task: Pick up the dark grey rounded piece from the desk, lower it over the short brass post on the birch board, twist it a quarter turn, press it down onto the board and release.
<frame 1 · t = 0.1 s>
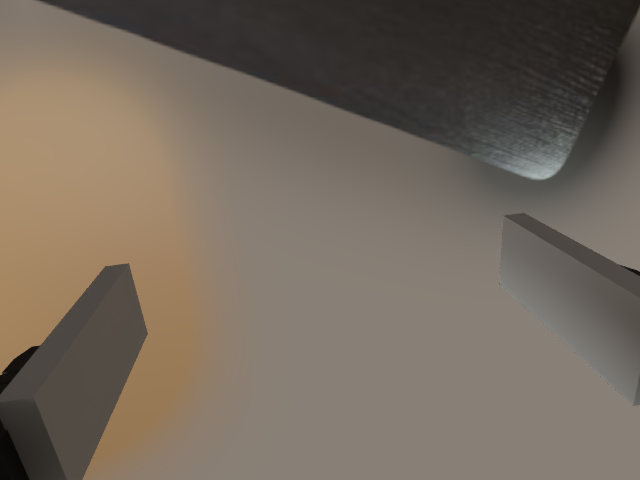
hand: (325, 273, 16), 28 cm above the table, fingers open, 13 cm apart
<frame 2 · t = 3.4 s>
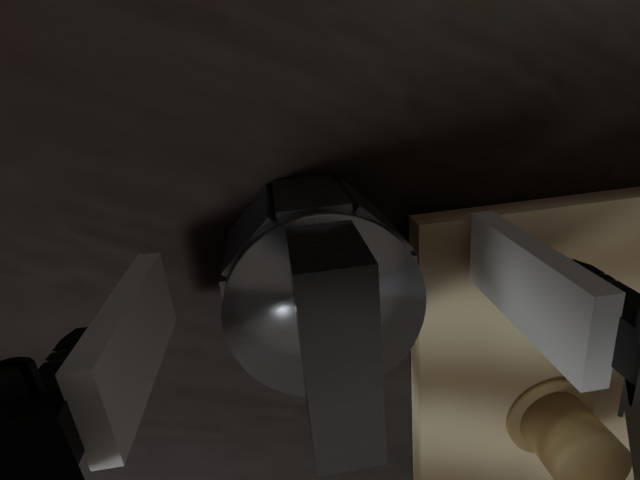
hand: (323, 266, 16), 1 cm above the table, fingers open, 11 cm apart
socket base: (556, 359, 21), on the table
dark grey rounded piece: (309, 252, 17), on the table
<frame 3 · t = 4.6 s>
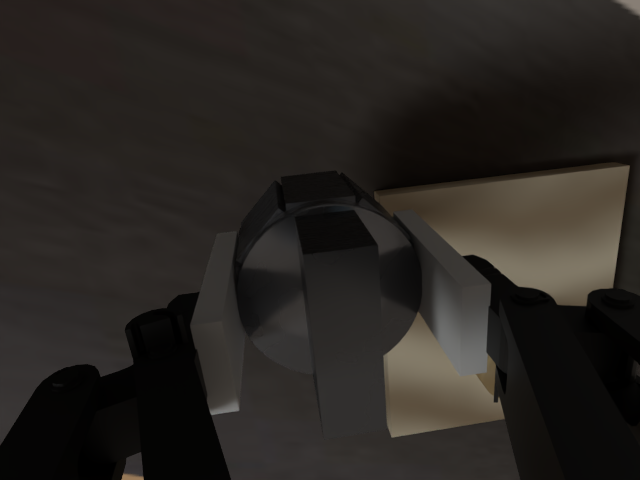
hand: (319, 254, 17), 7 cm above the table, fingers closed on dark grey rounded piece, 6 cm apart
socket base: (491, 303, 28), on the table
dark grey rounded piece: (315, 243, 19), point 6 cm above the table, touching gripper
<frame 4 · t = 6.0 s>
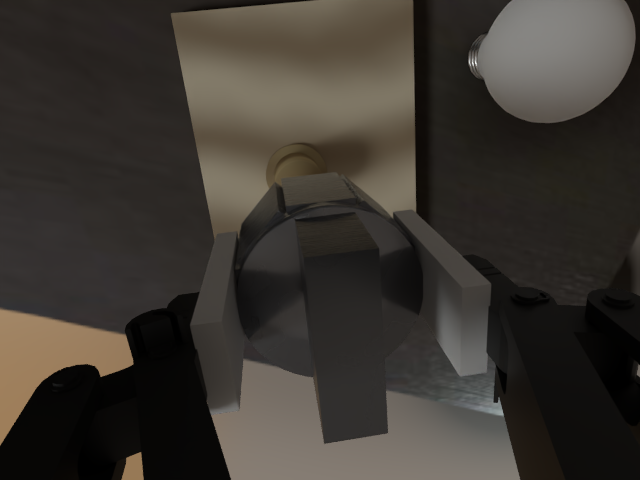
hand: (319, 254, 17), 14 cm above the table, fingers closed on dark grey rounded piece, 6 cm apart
socket base: (306, 139, 30), on the table
light bulb: (481, 57, 29), on the table
dark grey rounded piece: (315, 245, 19), point 13 cm above the table, touching gripper
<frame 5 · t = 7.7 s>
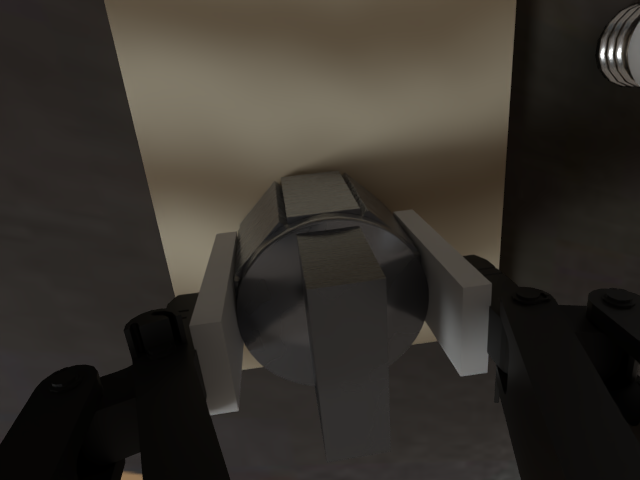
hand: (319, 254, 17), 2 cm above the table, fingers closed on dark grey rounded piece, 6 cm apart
socket base: (330, 178, 19), on the table
light bulb: (611, 47, 18), on the table
dark grey rounded piece: (316, 244, 18), point 1 cm above the table, touching gripper, socket base
when the fingers open (2 cm above the table, at t = 9.4 s): dark grey rounded piece stays where it is, resting on socket base.
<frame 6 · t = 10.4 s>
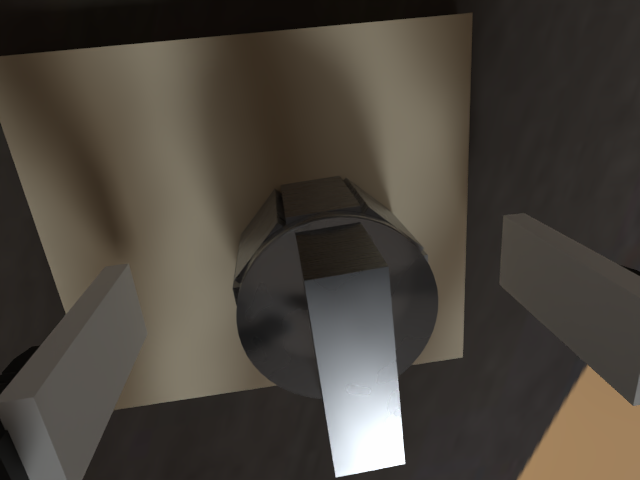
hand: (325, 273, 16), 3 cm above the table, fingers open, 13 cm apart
socket base: (264, 225, 18), on the table
dark grey rounded piece: (320, 254, 18), point 1 cm above the table, touching socket base
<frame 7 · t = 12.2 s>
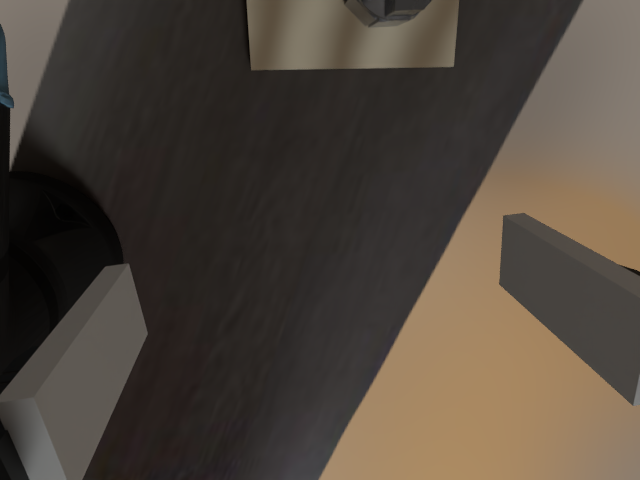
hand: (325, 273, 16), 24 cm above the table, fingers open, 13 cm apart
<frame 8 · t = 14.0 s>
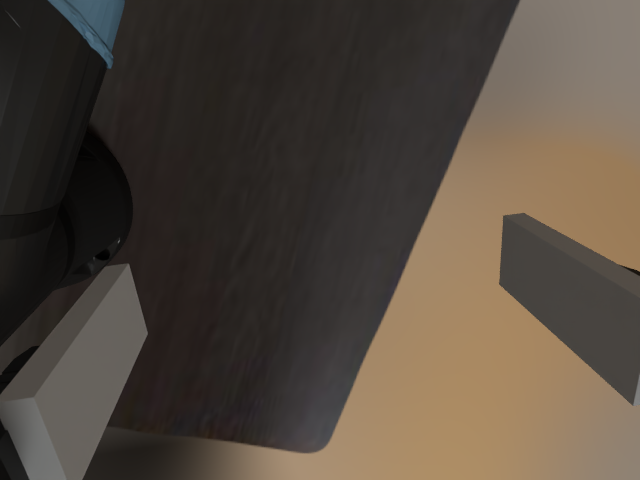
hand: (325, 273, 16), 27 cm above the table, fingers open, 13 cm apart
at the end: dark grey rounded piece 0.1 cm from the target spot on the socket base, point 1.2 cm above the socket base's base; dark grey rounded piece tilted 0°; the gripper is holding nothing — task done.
